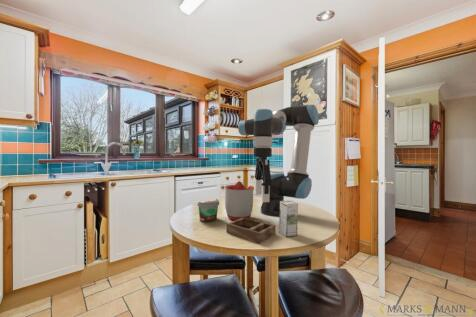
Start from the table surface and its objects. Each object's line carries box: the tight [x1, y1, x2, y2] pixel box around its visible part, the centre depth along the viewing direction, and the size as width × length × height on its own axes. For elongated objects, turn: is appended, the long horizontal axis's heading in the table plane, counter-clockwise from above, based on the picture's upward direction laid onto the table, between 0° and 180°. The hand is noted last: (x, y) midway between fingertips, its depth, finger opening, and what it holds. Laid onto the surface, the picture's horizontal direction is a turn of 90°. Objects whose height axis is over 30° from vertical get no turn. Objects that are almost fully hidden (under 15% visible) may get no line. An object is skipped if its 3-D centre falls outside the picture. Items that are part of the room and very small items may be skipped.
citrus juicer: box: [224, 180, 254, 221], centre depth 119 cm, size 16×17×20 cm
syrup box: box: [278, 199, 299, 238], centre depth 96 cm, size 6×6×14 cm
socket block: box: [226, 217, 276, 245], centre depth 96 cm, size 12×18×4 cm
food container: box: [197, 198, 220, 223], centre depth 113 cm, size 12×6×10 cm, turn 131°
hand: (261, 198), depth 92 cm, fingers open, 13 cm apart
